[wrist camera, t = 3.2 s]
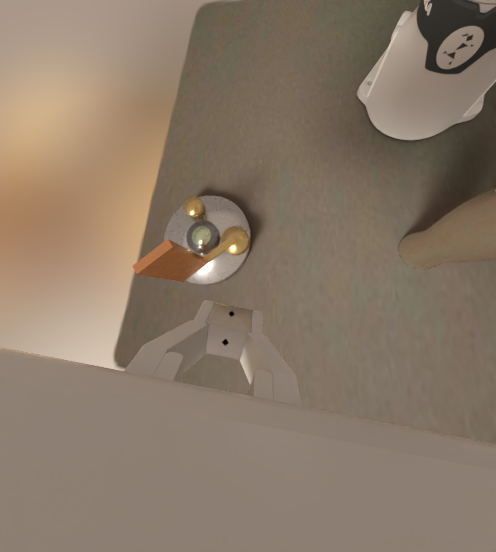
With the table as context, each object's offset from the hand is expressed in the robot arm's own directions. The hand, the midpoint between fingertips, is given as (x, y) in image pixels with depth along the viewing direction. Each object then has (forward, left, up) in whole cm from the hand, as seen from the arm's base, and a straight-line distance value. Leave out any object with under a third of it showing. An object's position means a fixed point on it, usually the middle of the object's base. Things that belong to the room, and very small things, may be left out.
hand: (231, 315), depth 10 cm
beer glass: (-18, +18, -24) cm, 35 cm away
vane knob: (-3, -12, -22) cm, 25 cm away
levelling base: (-6, -16, -24) cm, 29 cm away
